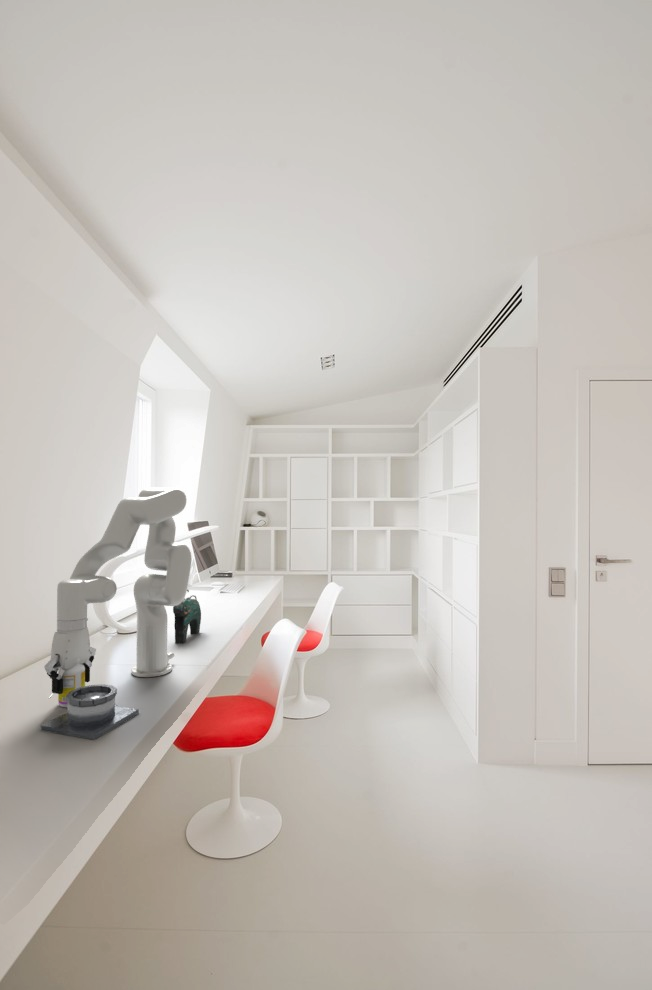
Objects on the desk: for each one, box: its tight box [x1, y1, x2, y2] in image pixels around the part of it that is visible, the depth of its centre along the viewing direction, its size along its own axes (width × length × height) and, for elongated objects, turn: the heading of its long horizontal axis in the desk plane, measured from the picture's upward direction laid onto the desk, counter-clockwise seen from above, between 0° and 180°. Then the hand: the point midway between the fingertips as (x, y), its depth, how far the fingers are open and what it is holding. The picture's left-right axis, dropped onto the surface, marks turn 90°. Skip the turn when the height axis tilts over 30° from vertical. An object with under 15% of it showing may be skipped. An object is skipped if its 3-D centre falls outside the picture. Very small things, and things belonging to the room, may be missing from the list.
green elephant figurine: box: [172, 589, 202, 645], centre depth 215 cm, size 20×6×20 cm, turn 171°
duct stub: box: [40, 683, 140, 741], centre depth 134 cm, size 16×16×7 cm
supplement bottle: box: [57, 658, 86, 708], centre depth 146 cm, size 7×7×13 cm
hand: (71, 687), depth 146 cm, fingers open, 9 cm apart
